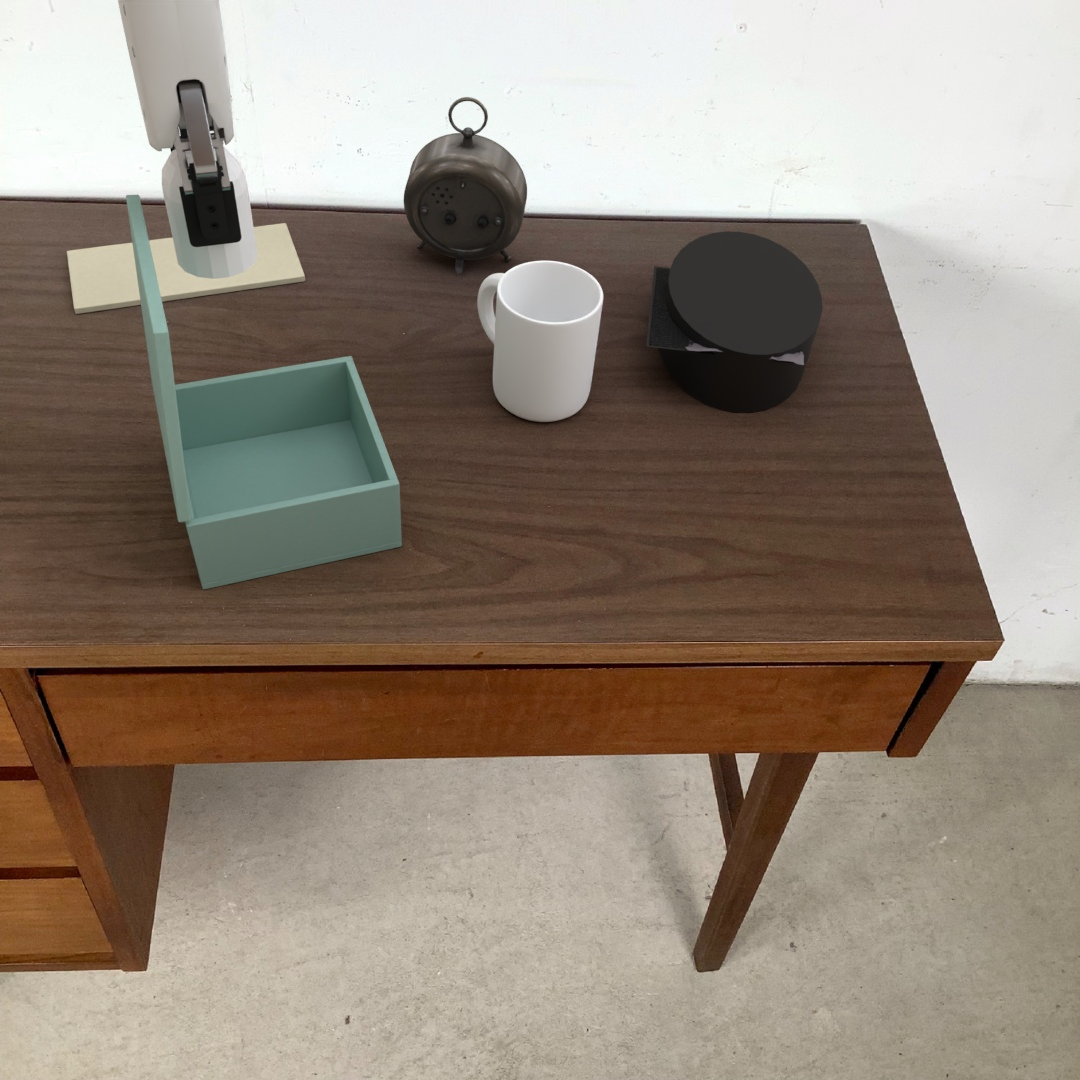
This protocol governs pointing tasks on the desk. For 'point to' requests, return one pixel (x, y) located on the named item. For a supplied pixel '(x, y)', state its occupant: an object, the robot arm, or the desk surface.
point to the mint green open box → (284, 471)
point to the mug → (542, 337)
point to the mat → (174, 272)
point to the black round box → (735, 320)
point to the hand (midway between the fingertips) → (209, 214)
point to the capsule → (216, 257)
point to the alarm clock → (465, 195)
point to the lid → (159, 356)
